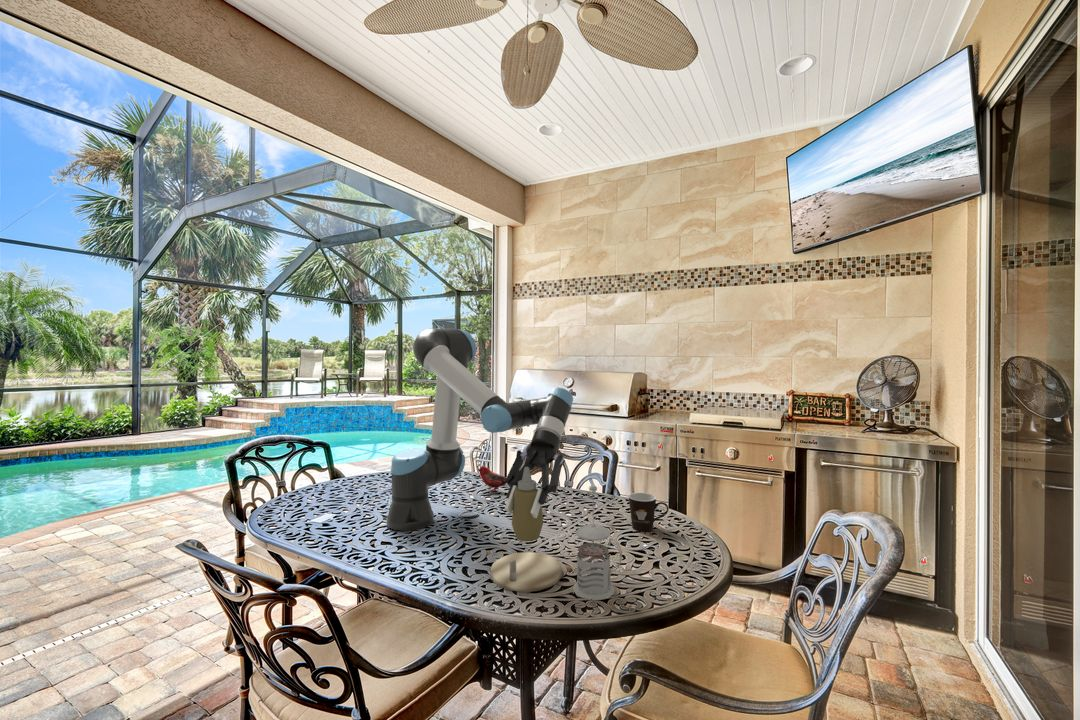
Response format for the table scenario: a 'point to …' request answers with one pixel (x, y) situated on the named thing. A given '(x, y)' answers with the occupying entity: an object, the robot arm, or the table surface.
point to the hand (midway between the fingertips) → (520, 513)
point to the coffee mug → (643, 511)
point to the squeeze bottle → (526, 510)
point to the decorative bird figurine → (491, 478)
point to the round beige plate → (526, 571)
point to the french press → (597, 581)
